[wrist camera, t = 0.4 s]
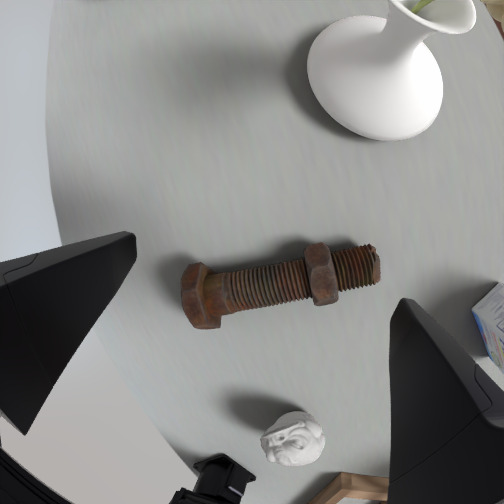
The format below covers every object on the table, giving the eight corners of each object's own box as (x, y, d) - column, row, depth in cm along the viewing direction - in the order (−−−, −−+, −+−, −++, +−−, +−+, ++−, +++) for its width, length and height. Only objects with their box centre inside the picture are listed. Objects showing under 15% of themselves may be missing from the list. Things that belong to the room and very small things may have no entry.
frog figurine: (301, 384, 27) (297, 434, 20) (337, 423, 27) (338, 471, 21) (254, 407, 29) (240, 454, 22) (291, 442, 29) (284, 488, 22)
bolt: (367, 261, 25) (209, 292, 28) (365, 215, 22) (187, 254, 25) (385, 311, 21) (201, 344, 24) (389, 266, 18) (174, 307, 21)
